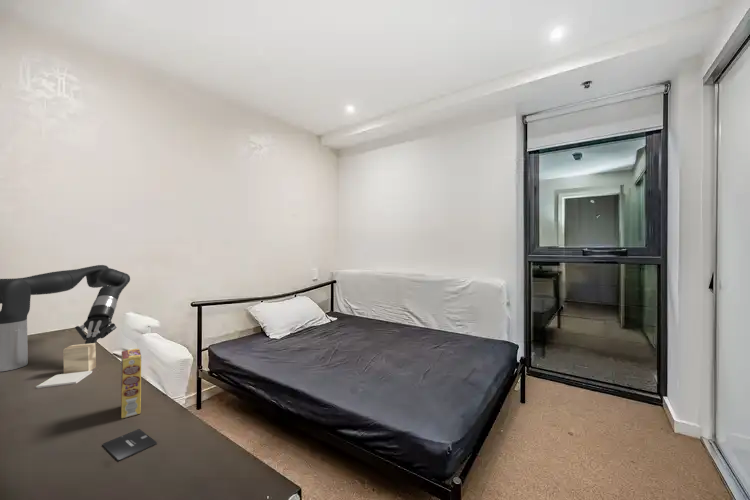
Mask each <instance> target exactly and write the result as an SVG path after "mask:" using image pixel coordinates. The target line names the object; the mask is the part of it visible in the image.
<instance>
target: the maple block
mask: <svg viewBox="0 0 750 500" xmlns="http://www.w3.org/2000/svg"><path fill="white" fill-rule="evenodd" d="M96 350H97V349H96V344H95V343H90V344H85V343H81V344H72V345H69V346H67V347H65V348H63V349H62V351H63V352H62V354H63V356H62V358H63V374H67V373H76V372H85V371H93V369H94V370H95V368H96V367H97V361H96V360H97V359H96V358H97V357H96V356H97V355H96Z"/></svg>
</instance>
